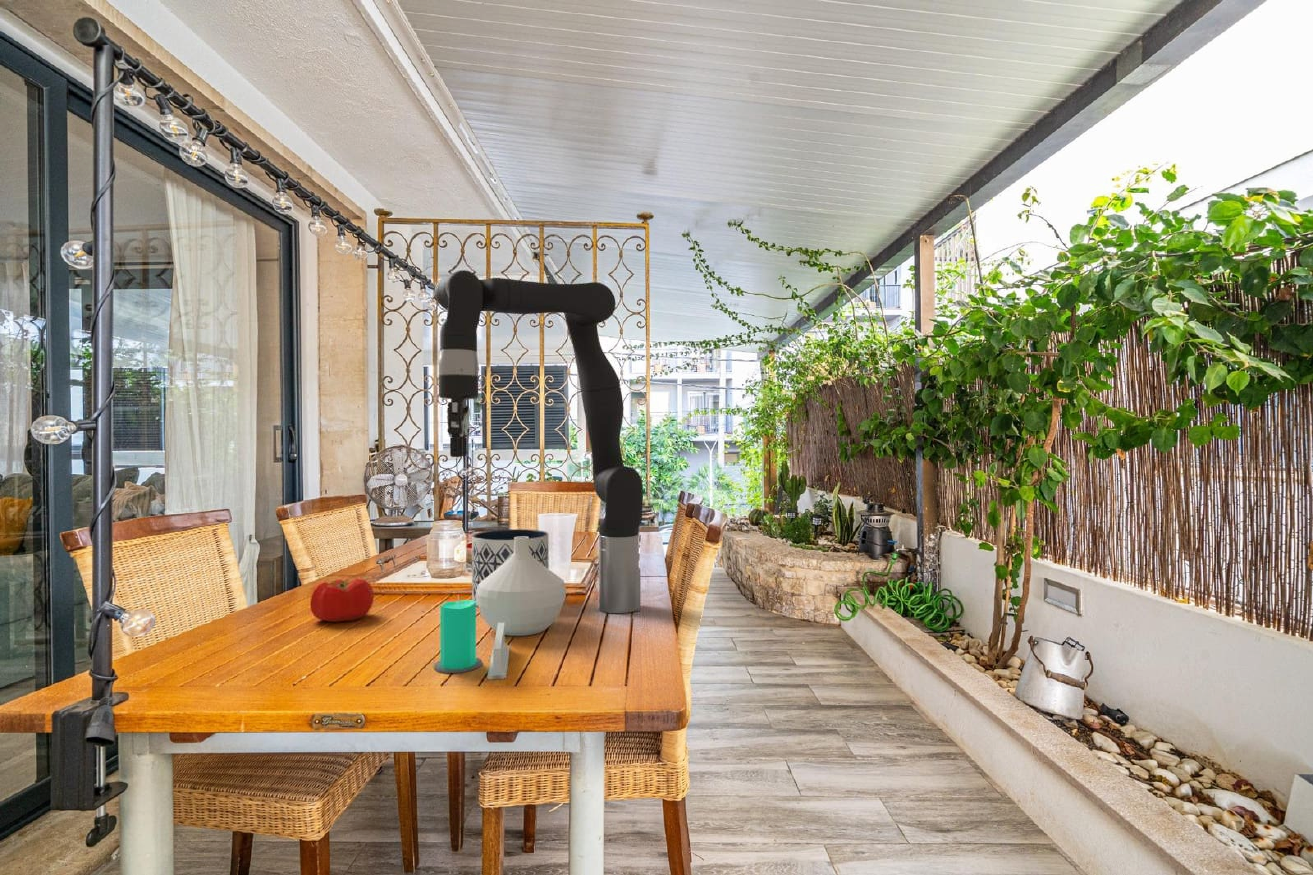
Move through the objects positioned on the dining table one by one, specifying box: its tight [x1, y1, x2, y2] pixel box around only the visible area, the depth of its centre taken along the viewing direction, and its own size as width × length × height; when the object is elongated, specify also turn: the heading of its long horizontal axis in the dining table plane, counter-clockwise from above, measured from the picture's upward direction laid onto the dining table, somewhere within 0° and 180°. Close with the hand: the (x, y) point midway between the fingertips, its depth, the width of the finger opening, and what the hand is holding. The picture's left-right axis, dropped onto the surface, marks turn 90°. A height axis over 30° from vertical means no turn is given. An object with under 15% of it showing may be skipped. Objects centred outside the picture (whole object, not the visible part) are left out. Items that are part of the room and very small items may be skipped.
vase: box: [476, 536, 567, 637], centre depth 141 cm, size 18×18×19 cm
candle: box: [439, 594, 477, 670], centre depth 118 cm, size 6×6×12 cm
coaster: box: [433, 656, 483, 675], centre depth 118 cm, size 8×8×1 cm
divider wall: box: [487, 623, 510, 680], centre depth 120 cm, size 3×16×5 cm, turn 10°
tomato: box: [309, 578, 375, 623], centre depth 150 cm, size 13×12×8 cm
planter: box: [471, 529, 550, 607], centre depth 165 cm, size 18×18×16 cm
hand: (458, 456), depth 134 cm, fingers open, 8 cm apart
